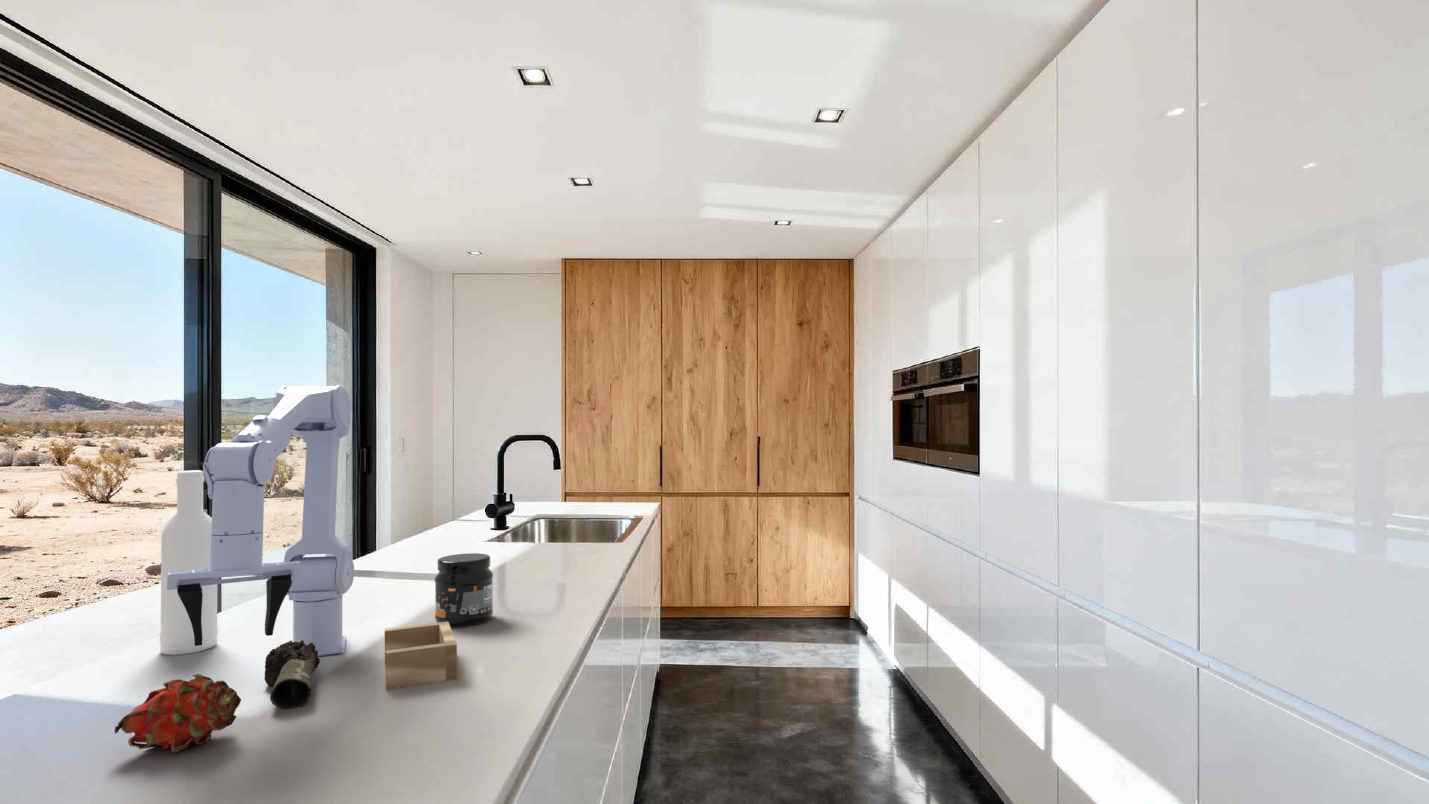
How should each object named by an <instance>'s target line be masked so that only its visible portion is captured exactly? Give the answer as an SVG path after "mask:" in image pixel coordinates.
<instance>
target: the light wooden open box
mask: <svg viewBox="0 0 1429 804" xmlns="http://www.w3.org/2000/svg"><path fill="white" fill-rule="evenodd" d="M457 647H458V644H457V641H456V638H455V636H454V633H453V631H452V627H450V625H449V622H448V621H447V622H438V623H437V622H431V623H425V624H424V623H423V624H415V625H408V626H397V627H390V628H389V627H388V628H385V629H384V664H385V690H391V689H392V688H393V689H398V688H397V687H399V688H405V687H411V686H418V685H425V684H431V683H438V682H443V681H444V682H445V681H452V680H457V678H458V668H457V667H458V652H457V651H458V648H457ZM393 689H392V690H393Z"/></svg>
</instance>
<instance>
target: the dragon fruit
mask: <svg viewBox="0 0 1429 804" xmlns="http://www.w3.org/2000/svg"><path fill="white" fill-rule="evenodd" d="M192 677H194V679H193V678H191V679H190V680H189V681H188V680H184V679H179V678H178V679H173V680H168V681H166V682H165V681H164V683H163V684H162V685H163V688H160V689H157V690H152V691H150V692H149V693H148V696H147V698H146V699H145V700H144V702H142V703H141V704H139V705H137V706H136V707H134V708H133V709H132V711H130V712H129V713H127V714H125V715H124V716H123V717H122V718H121V719H120V721H118V723H117V724H116V726H115V727H114V734H115V735H116V734H118V732H119V731H120V730H122V731H123V732H124V734H131V733H133V734H134V735H133V736H131V737H129V738H128V741H127V744H128V745H129V747H132V748H135V749H139V750H145V749H150V748H157V749H159V750H165V749H169V748H170V749H171V752H172V753H173V754H174V753H175V754H178V753H179V752H180V751H181V750H183V749H186V748H187V747H188V746H189V744H190V742H192V743H194V744H196V745H201V744H205V743H207V742H209V741H210V740H211V738H212V733H213V731H221V730H224V729H225V728H228V727H229V726H232V724H233V722H235V720H236V718H238V717H237V716H236V715H235V712H236V711H237V709H238V707H239V705H240V704H241V701H242V699H241V697H240V696H239V695H238V692H237V691H236V690H235V689H234V688H232V687H230V685H229V684H228V683H227V682H226V681H224V680H217V681H214V680H213V679H212V678H211V677H208V676H205V675H204V674H200V673H197V674H196V673H195V674H193V675H192ZM208 740H209V741H208Z"/></svg>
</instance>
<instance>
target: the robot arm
mask: <svg viewBox="0 0 1429 804" xmlns="http://www.w3.org/2000/svg"><path fill="white" fill-rule="evenodd" d="M351 408H352V402H351V398H350V395H349V392H348V390H347V389H346V388H345V387H344V385H341V384H340V385H339V384H338V385H325V386H321V385H319V386H318V385H317V386H313V385H310V386H302V385H301V386H295V385H294V386H293V385H292V386H291V385H283V386H281V387H280V388H279V389H278V390H277V391H276V395H275V398H274V408H273V409H272V410H271V412H270V413H269V415H255V416H254V417H253V418H252V420H251V421H250V422H249V424H247V425H246V426H245V427H244V428H243V429H242V430H241V431H240V432H239V433H238V434H236V436H234V437H233V438H232V439H231V440H230V441H229V442H220V443H219V442H218V443H217V444H216V445H215V446H212V447H211V448H210V449H208V450H207V453H206V455H205V459H204V462H203V464H202V469H203V470H202V471H203V476H204V480H205V481H206V485H207V495H208V498H209V500H212V501H211V503H212V504H211V508H212V509H211V518H212V529H211V534H212V535H211V560H210V568H206V569H198V570H189V571H181V572H171V573H167V590H173V589H177V592H178V595H179V597H180V599H181V601H182V603H183V605H184V607H185V609H186V611H187V613H188V616H189V618H190V621H191V624H192V628H193V633H194V644H195V646H199V645H202V624H201V614H202V597H203V593H202V588H201V586H205V585H215V584H217V585H222V584H224V585H225V584H234V583H244V582H254V581H262V580H263V581H264V580H266V583H265V587H266V590H265V591H266V610H265V619H264V635H266V637H267V636H273V635H274V630H275V629H274V628H275V624H276V620H277V617H278V614H279V612H280V610H281V606H282V605H283V602H284V600H285V598H286V596H288V600H289V601H292V606H293V607H292V622H293V623H292V642H300V641H301V640H303V641H304V644H306V645H308V644H310V643H313V644H314V645H315V650H317V651H318V657H319V656H320V657H321V656H327V655H336V654H343V653H344V652H345V649H346V648H345V647H346V641H347V636H346V635H343V595H344V594H346V593H347V592H348V591H349V590H350V589H351V587H352V585H353V583H354V579H355V578H354V577H355V565H354V562H353V561H354V560H353V550H352V547H351V546H350V545H349V544H348V543H346V542H345V541H343V540H342V539H340V538H339V537H338V536H336V516H337V515H336V514H337V496H338V493H337V492H338V475H339V474H338V473H339V472H338V471H339V453H340V452H339V451H340V450H339V449H340V440H341V439H342V438H344V437H346V436H347V435H349V433H350V427H351V413H352V412H351V411H352V409H351ZM292 436H295V437H296V438H297V437H298V438H299V439H302V440H303V441H304V443H305V445H306V448H305V449H306V451H305V469H304V471H305V472H304V488H303V489H304V490H303V508H302V525H301V526H302V527H301V528H302V529H301V538H300V539H299V540H298V541H297V542H295V543H294V544H293V545H290V547H288V548H287V549H286V550H285V554H284V557H283V558H284V559H283V562H267V563H266V562H265V563H263V547H264V545H263V544H264V516H265V515H264V513H265V485H266V484H268V483H269V482H271V480H272V478H273V475H274V471H275V470H274V469H275V467H276V465H277V462H278V457H279V456H280V455H281V454H282V452H283V451H285V450H286V448H287V447H288V446H289V445H290V443H291V441H292V439H291V438H292ZM327 554H328V556H306V555H327ZM329 555H331V556H329ZM251 575H252V576H251ZM243 576H244V577H243ZM232 577H233V578H232ZM220 578H222V579H220ZM209 580H211V581H209Z"/></svg>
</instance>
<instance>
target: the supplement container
mask: <svg viewBox="0 0 1429 804" xmlns="http://www.w3.org/2000/svg"><path fill="white" fill-rule="evenodd" d="M490 567H491V556H490V555H488V554H486V553H477V552H476V553H475V552H473V553H457V554H451V555H446V556H442V557H439V558H438V559H437V571H438V573H437V574H436V575H435V577H434V583H435V591H434V594H435V596H434V597H435V598H434V599H435V600H434V601H435V607H434V609H435V614H434V620H435V623H438V622H447V621H448V622H449V625H450V628H463V627H464V626H466V627H473V626H478V625H480V623H481V624H483V623H485V622H488V621H489V620H490V619H492V617H493V615H494V614H493V613H494V609H493V607H494V606H493V600H494V599H493V580H494V573H493V571H492V570H491V569H490ZM472 625H473V626H472Z"/></svg>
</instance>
